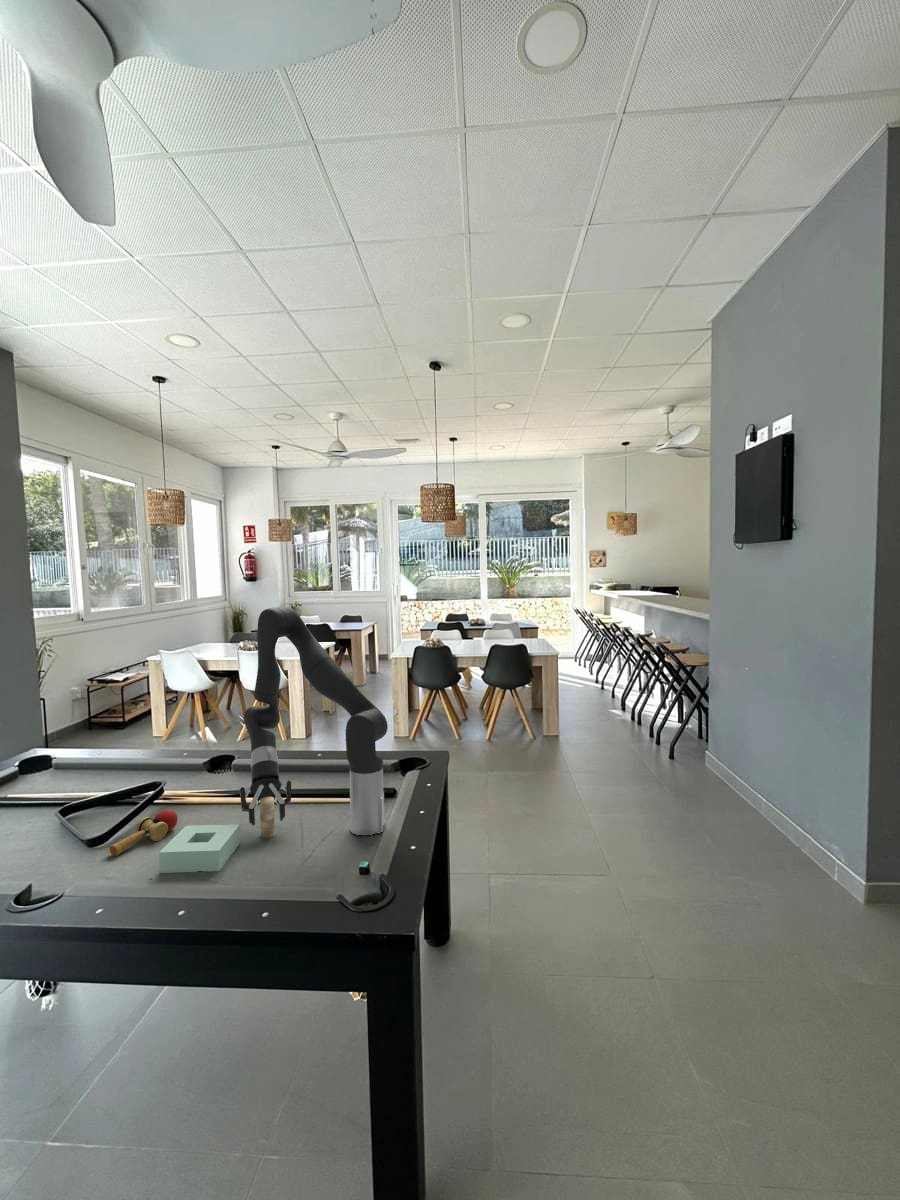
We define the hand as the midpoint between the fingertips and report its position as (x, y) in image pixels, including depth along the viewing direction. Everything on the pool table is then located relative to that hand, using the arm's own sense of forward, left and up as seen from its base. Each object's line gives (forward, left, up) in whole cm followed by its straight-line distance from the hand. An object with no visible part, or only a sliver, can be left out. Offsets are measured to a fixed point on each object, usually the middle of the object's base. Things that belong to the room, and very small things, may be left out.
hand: (267, 821), depth 141 cm
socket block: (+14, +9, -4) cm, 17 cm away
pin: (+1, -2, -4) cm, 5 cm away
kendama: (+32, 0, -5) cm, 33 cm away
